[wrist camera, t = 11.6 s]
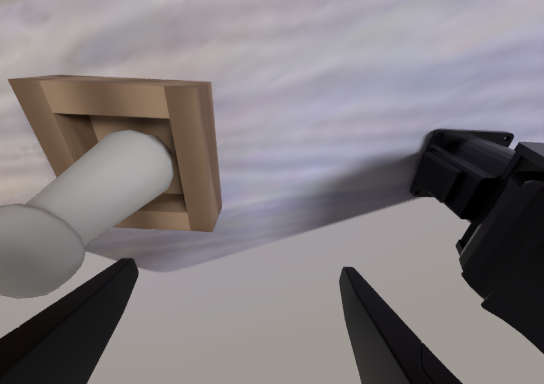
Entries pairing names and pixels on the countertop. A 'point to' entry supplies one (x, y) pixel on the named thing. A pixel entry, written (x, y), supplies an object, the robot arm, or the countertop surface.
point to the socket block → (139, 117)
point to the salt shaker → (79, 211)
